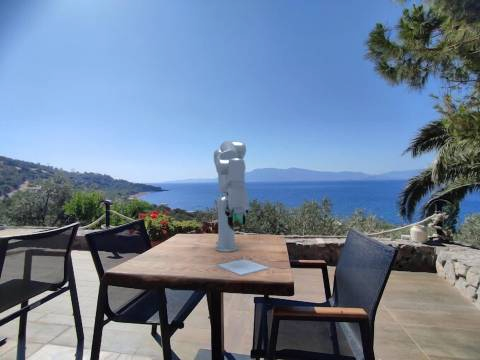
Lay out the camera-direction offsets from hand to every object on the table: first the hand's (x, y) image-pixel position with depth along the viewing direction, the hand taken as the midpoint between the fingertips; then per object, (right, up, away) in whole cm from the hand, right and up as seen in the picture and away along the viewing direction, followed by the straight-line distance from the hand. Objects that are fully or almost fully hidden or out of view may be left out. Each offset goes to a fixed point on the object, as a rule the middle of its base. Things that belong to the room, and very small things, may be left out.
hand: (236, 224), depth 128 cm
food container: (+1, -2, 0) cm, 2 cm away
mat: (+3, -19, -1) cm, 20 cm away
